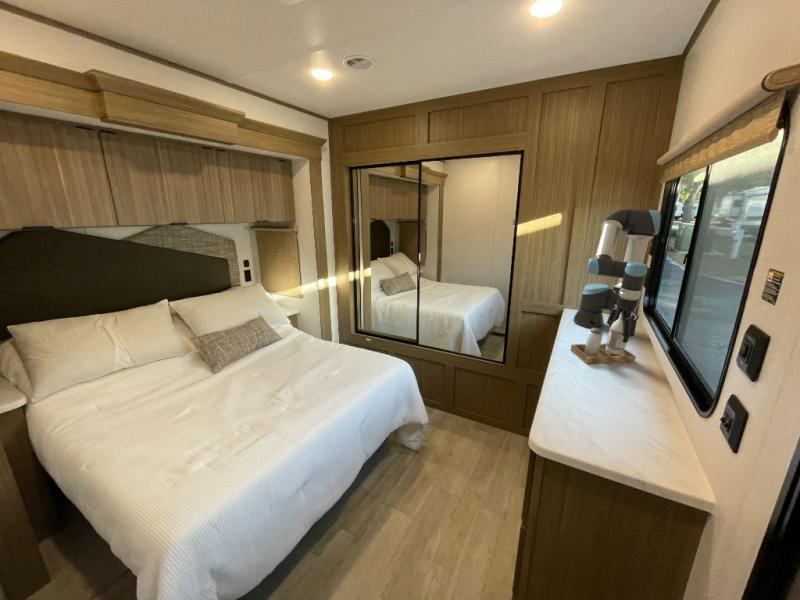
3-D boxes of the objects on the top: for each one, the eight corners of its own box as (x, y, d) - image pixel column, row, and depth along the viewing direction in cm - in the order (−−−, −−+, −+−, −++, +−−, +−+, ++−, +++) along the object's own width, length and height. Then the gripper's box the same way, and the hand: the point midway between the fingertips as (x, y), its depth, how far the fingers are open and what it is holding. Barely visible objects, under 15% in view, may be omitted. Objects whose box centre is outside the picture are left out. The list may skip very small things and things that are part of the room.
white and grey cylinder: (587, 351, 156) (593, 326, 151) (599, 356, 151) (606, 330, 147) (581, 354, 153) (587, 328, 148) (593, 359, 148) (599, 333, 144)
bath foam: (604, 346, 157) (614, 308, 150) (621, 350, 154) (632, 311, 147) (605, 353, 151) (616, 313, 144) (623, 356, 148) (634, 316, 141)
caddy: (614, 349, 160) (616, 343, 158) (634, 362, 148) (635, 356, 147) (570, 350, 158) (571, 344, 157) (586, 364, 146) (587, 357, 145)
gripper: (605, 290, 152) (594, 334, 160) (637, 305, 133) (623, 355, 141) (620, 290, 153) (608, 334, 161) (654, 305, 134) (639, 354, 142)
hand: (615, 343), depth 151 cm, fingers closed on bath foam, 7 cm apart
